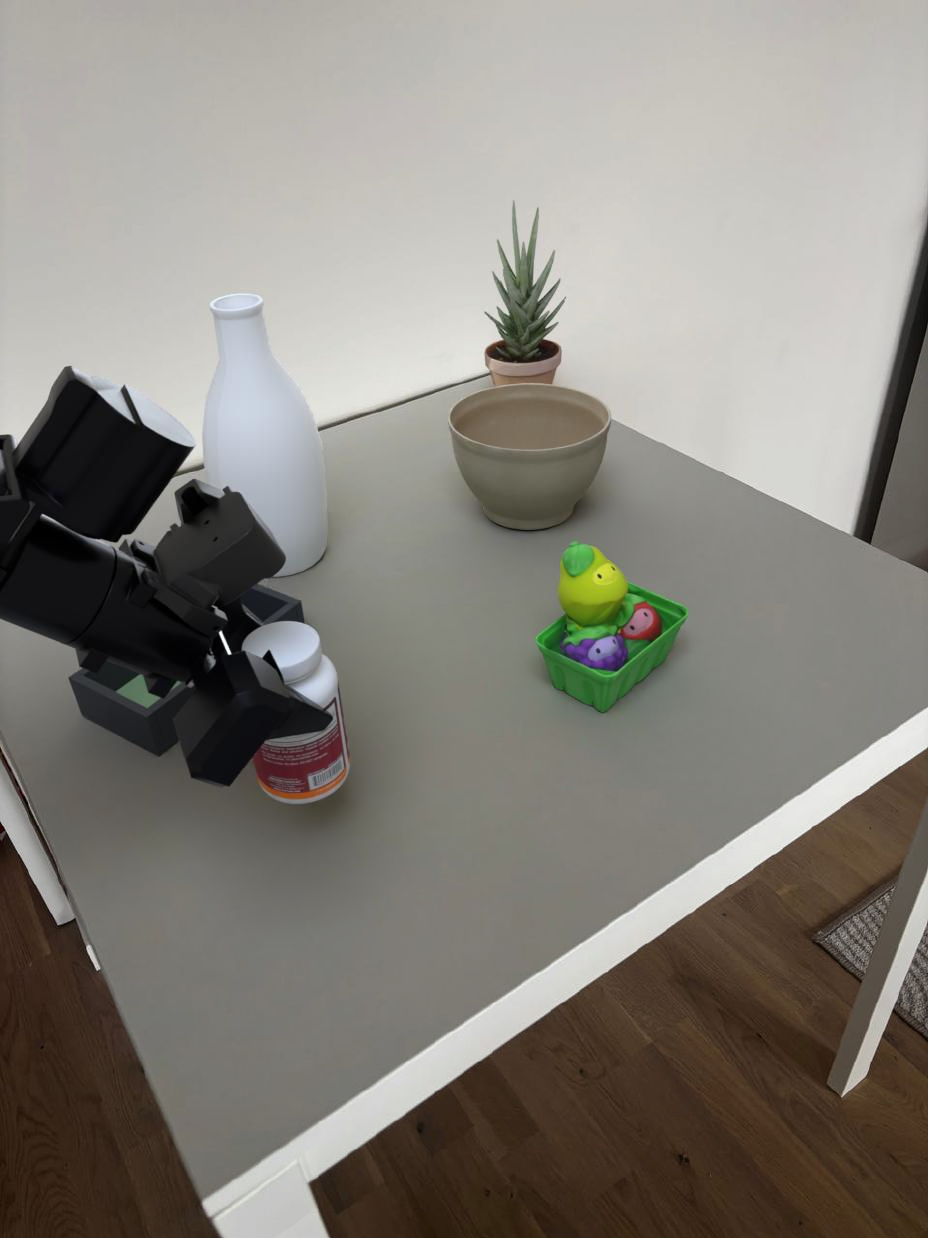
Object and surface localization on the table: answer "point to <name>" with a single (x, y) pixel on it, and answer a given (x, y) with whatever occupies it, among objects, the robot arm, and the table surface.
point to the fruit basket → (605, 630)
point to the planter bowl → (529, 450)
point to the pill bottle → (313, 758)
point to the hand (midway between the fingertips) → (312, 692)
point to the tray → (144, 716)
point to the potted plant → (523, 320)
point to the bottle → (264, 434)
